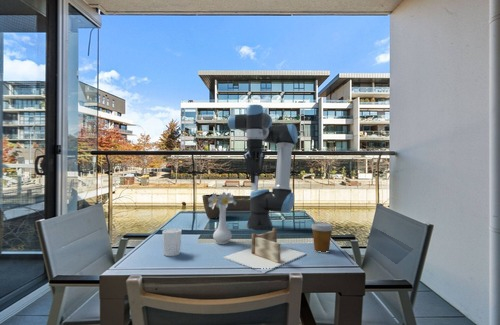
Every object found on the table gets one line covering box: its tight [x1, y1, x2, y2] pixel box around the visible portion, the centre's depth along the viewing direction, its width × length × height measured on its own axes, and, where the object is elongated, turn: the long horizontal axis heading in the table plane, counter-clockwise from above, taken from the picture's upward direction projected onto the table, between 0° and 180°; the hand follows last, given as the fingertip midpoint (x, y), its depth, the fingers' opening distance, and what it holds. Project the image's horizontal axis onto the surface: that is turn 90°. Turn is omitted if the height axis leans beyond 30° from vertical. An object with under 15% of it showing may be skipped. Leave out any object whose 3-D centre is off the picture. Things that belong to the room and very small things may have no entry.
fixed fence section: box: [251, 227, 278, 254], centre depth 122 cm, size 16×2×8 cm, turn 137°
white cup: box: [162, 228, 182, 257], centre depth 117 cm, size 8×8×10 cm
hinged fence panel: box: [255, 237, 282, 262], centre depth 111 cm, size 13×2×7 cm, turn 42°
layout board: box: [223, 246, 307, 269], centre depth 115 cm, size 28×22×1 cm
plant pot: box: [201, 193, 220, 219], centre depth 195 cm, size 15×15×16 cm
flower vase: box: [208, 191, 237, 245], centre depth 135 cm, size 13×18×25 cm
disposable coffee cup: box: [310, 221, 334, 252], centre depth 124 cm, size 10×10×12 cm
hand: (254, 189), depth 126 cm, fingers closed
